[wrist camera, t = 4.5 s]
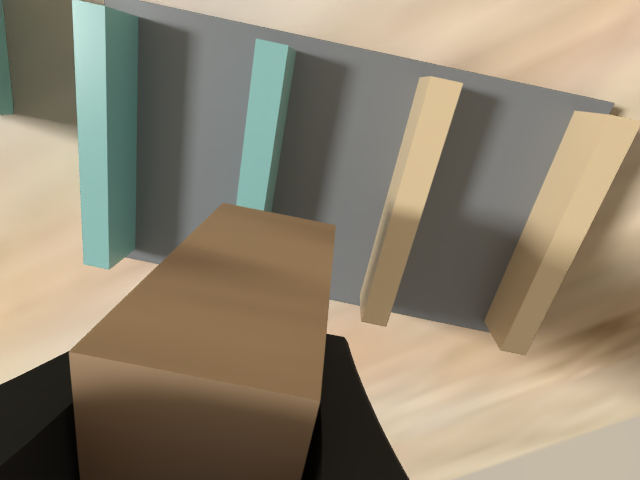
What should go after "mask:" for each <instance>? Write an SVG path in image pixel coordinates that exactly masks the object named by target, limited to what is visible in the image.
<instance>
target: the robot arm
mask: <svg viewBox="0 0 640 480" xmlns="http://www.w3.org/2000/svg"><path fill="white" fill-rule="evenodd" d="M0 480H80V474H79V463H78V451H77V440H76V429H75V417H74V406H73V395H72V384H71V372H70V361H69V351H68V352H66V353H64V354H62V355H60V356H58V357H56V358H54V359H52V360H50V361H48V362H46V363H44V364H42V365H40V366H38V367H36V368H34V369H32V370H30V371H28V372H26V373H24V374H22V375H20V376H18V377H16V378H14V379H12V380H9V381H7V382H5V383H3V384H1V385H0ZM301 480H409V478H408V476H407V475H406V473H405V471H404V469H403V467H402V466H401V464H400V462H399V460H398V458H397V457H396V455H395V453H394V451H393V449H392V447H391V445H390V443H389V441H388V439H387V437H386V435H385V433H384V431H383V429H382V427H381V425H380V423H379V421H378V419H377V417H376V414H375V412H374V410H373V408H372V406H371V403H370V401H369V399H368V397H367V394H366V392H365V390H364V387H363V385H362V382H361V380H360V377H359V375H358V372H357V369H356V367H355V364H354V361H353V358H352V355H351V352H350V349H349V345H348V342H347V341H346V339H345V338H344V337H340V336H335V335H330V334H326V342H325V354H324V365H323V376H322V387H321V399H320V404H319V408H318V412H317V416H316V420H315V425H314V429H313V433H312V437H311V441H310V445H309V449H308V453H307V457H306V461H305V465H304V469H303V474H302V478H301Z"/></svg>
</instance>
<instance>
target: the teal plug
mask: <svg viewBox="0 0 640 480" xmlns="http://www.w3.org/2000/svg"><path fill="white" fill-rule="evenodd" d="M6 114H14V108H13V98H12V89H11V79H10V70H9V60H8V51H7V41H6V32H5V22H4V13H3V3H2V0H0V115H6Z"/></svg>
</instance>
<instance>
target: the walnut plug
mask: <svg viewBox="0 0 640 480" xmlns="http://www.w3.org/2000/svg"><path fill="white" fill-rule="evenodd" d="M335 230H336V225H333V224H328V223H323V222H318V221H313V220H308V219H303V218H298V217H293V216H288V215H283V214H278V213H273V212H267V211H262V210H257V209H252V208H247V207H242V206H237V205H232V204H227V203H222V204H221V205H220V206H219V207H218V208H217V209H216V210H215V211H214V212H213V213H212V214H211V215H210V216H209V217H208V218H207V219H206V220H205V221H204V222H203V223H201V224H200V225H199V226H198V227H197V228H196V229H195V230H194V231H193V232H192V233H191V234H190V235H189V236H188V237H187V238H186V239H185V240H184V241H183V242H182V243H181V244H180V245H179V246H178V247H177V248H176V249H175V250H174V251H172V252H171V253H170V254H169V255H168V256H167V257H166V258H165V259H164V260H163V261H162V262H161V263H160V264H159V265H158V266H157V267H156V268H155V269H154V270H153V271H152V272H151V273H150V274H149V275H148V276H147V277H146V278H145V279H144V280H142V281H141V282H140V283H139V284H138V285H137V286H136V287H135V288H134V289H133V290H132V291H131V292H130V293H129V294H128V295H127V296H126V297H125V298H124V299H123V300H122V301H121V302H120V303H119V304H118V305H117V306H116V307H115V308H113V309H112V310H111V311H110V312H109V313H108V314H107V315H106V316H105V317H104V318H103V319H102V320H101V321H100V322H99V323H98V324H97V325H96V326H95V327H94V328H93V329H92V330H91V331H90V332H89V333H88V334H87V335H86V336H85V337H83V338H82V339H81V340H80V341H79V342H78V343H77V344H76V345H75V346H74V347H73V348H72V349H71V350H70V351H69V361H70V372H71V384H72V395H73V406H74V417H75V429H76V440H77V451H78V463H79V474H80V480H301V478H302V474H303V469H304V465H305V461H306V457H307V453H308V449H309V445H310V441H311V437H312V433H313V429H314V425H315V420H316V416H317V412H318V408H319V404H320V399H321V387H322V376H323V365H324V354H325V342H326V331H327V320H328V309H329V297H330V286H331V275H332V264H333V252H334V241H335Z"/></svg>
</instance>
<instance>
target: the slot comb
mask: <svg viewBox="0 0 640 480" xmlns="http://www.w3.org/2000/svg"><path fill="white" fill-rule="evenodd" d="M72 13H73V36H74V59H75V81H76V104H77V126H78V149H79V172H80V194H81V217H82V239H83V262H84V264H85V265H89V266H94V267H99V268H104V269H110V268H112V267H113V266H114V265H116V264H117V263H118V262H119V261H121V260H122V259H123V258H125V257H127V258H131V259H136V260H141V261H146V262H151V263H156V264H160V263H161V262H162V261H163V260H164V259H165V258H166V257H167V256H168V255H169V254H170V253H171V252H172V251H174V250H175V249H176V248H177V247H178V246H179V245H180V244H181V243H182V242H183V241H184V240H185V239H186V238H187V237H188V236H189V235H190V234H191V233H192V232H193V231H194V230H195V229H196V228H197V227H198V226H199V225H200V224H201V223H203V222H204V221H205V220H206V219H207V218H208V217H209V216H210V215H211V214H212V213H213V212H214V211H215V210H216V209H217V208H218V207H219V206H220V205H221V204H222V203H227V204H232V205H237V206H242V207H247V208H252V209H257V210H262V211H267V212H273V213H278V214H283V215H288V216H293V217H298V218H303V219H308V220H313V221H318V222H323V223H328V224H333V225H336V230H335V241H334V252H333V264H332V275H331V286H330V297H329V299H330V300H335V301H339V302H344V303H349V304H354V305H359V306H360V308H361V322H366V323H371V324H376V325H380V326H385V327H386V326H387V323H388V320H389V316H390V313H391V312H393V313H397V314H402V315H407V316H412V317H417V318H422V319H427V320H431V321H436V322H441V323H446V324H451V325H456V326H460V327H465V328H470V329H475V330H480V331H485V332H489V333H491V334H492V336H493V338H494V340H495V341H496V343H497V345H498V347H499V348H500V350H502V351H507V352H511V353H516V354H521V355H526V353H527V351H528V349H529V347H530V345H531V343H532V341H533V339H534V337H535V335H536V333H537V331H538V329H539V327H540V325H541V323H542V321H543V319H544V317H545V315H546V313H547V311H548V309H549V307H550V305H551V303H552V301H553V299H554V297H555V295H556V293H557V291H558V289H559V287H560V285H561V283H562V281H563V279H564V277H565V275H566V273H567V271H568V269H569V267H570V265H571V263H572V261H573V259H574V257H575V255H576V253H577V251H578V249H579V247H580V245H581V243H582V241H583V239H584V237H585V235H586V233H587V231H588V229H589V227H590V225H591V223H592V221H593V219H594V217H595V215H596V213H597V211H598V209H599V207H600V205H601V203H602V201H603V199H604V197H605V195H606V193H607V191H608V189H609V187H610V185H611V183H612V181H613V179H614V177H615V175H616V173H617V171H618V169H619V167H620V165H621V163H622V161H623V159H624V157H625V155H626V153H627V151H628V149H629V147H630V145H631V143H632V141H633V139H634V137H635V135H636V133H637V131H638V129H639V127H640V121H637V120H633V119H628V118H623V117H619V116H614V115H609V114H610V112H611V110H612V107H613V105H614V103H612V102H608V101H603V100H598V99H594V98H589V97H585V96H580V95H575V94H571V93H566V92H561V91H557V90H552V89H547V88H543V87H538V86H534V85H529V84H524V83H520V82H515V81H510V80H506V79H501V78H496V77H492V76H487V75H483V74H478V73H473V72H469V71H464V70H459V69H455V68H450V67H445V66H441V65H436V64H432V63H427V62H422V61H418V60H413V59H408V58H404V57H399V56H394V55H390V54H385V53H381V52H376V51H371V50H367V49H362V48H357V47H353V46H348V45H343V44H339V43H334V42H330V41H325V40H320V39H316V38H311V37H306V36H302V35H297V34H292V33H288V32H283V31H279V30H274V29H269V28H265V27H260V26H255V25H251V24H246V23H241V22H237V21H232V20H228V19H223V18H218V17H214V16H209V15H204V14H200V13H195V12H190V11H186V10H181V9H177V8H172V7H167V6H163V5H158V4H153V3H149V2H144V1H139V0H104V6H103V5H98V4H94V3H89V2H84V1H80V0H72Z"/></svg>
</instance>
